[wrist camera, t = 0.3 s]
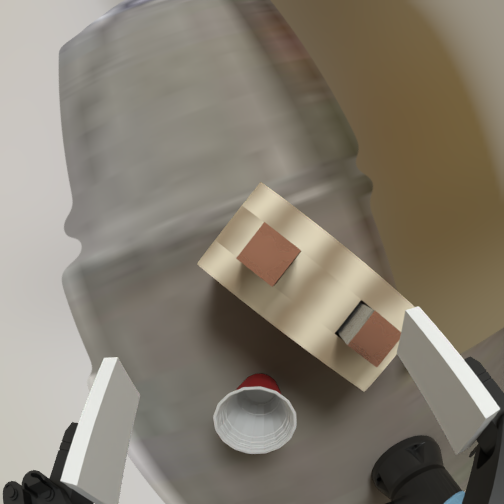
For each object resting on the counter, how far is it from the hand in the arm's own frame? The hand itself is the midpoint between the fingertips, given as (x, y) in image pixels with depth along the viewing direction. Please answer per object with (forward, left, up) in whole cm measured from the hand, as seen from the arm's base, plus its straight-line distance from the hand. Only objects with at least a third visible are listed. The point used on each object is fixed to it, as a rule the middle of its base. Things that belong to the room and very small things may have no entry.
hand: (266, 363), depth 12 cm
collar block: (-4, -4, -33) cm, 33 cm away
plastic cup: (-9, +14, -33) cm, 37 cm away
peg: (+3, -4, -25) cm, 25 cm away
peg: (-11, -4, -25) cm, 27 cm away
